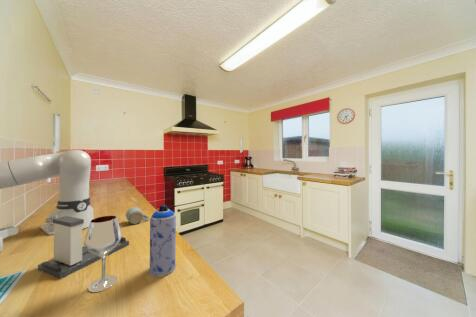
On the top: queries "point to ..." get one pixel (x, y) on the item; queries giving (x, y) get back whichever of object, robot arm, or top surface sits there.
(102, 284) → the wineglass
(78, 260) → the fader knob
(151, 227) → the aerosol can
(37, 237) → the top surface
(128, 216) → the light bulb
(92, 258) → the fader track
